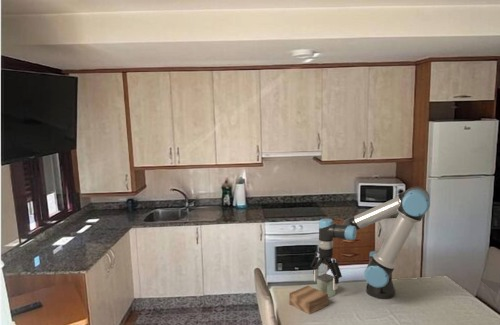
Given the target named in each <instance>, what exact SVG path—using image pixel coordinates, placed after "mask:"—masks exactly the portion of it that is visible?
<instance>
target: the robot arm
mask: <svg viewBox="0 0 500 325" xmlns="http://www.w3.org/2000/svg"><path fill="white" fill-rule="evenodd" d="M430 206H431V200H430V194H429V192H428V191H427V189H425V188H424V187H421V186H411V187H409V188H408V189H407V190H404V191H402V192H400V193H398V194H397V196H396V197H395V198H392V199H389V200H388V201H386V202H383V203H381V204H379V205H377V206H374V207H371V208H369V209H368V210H365V211H363V212H361V213H358V214H355V215H354V216H352V217H348V218H345V219H344V220H343V222H342V223H334V220H333V219H332V218H321V219H320V220H319V222H318V224H319V225H318V252H315V253H314V257H313V259H312V261H311V264H310V268H312V270H313V271H312V272H313V273H312V274H313V282H317V276H319V269H318V268H319V267H320V266H321V265H326V266H327V267H328V268H329V269H330V272H331V274H332V276H334V278H333V290H335V291H336V290H338V287H339V286H338V284H339V279H341V278H342V277H343V275H342V273H341V272H342V271H341V269H340V267H339V264H338V259H337V258H333V253H334V249H333V247H334V239H340V240H347V241H355V240H356V237H357V231H359V230H361V229H363V228H365V227H367V226H370V225H373V224H375V223H377V222H379V221H382V220H384V219H386V218H389V217H392V216H393V215H396V214H398V215H397V216H396V218H395V220H394V222H393V224H392V226H391V228H390V230H389V232H388V234H387V235H386V237H385V239H384V241H383V243H382V245H381V247H380V249H379V250H372V251H370V252H369V254H368V255H369V256H368V257H369V262H368V264H367V266H366V268H365V270H364V278H365V281H366V282H367V284H366V287H365V289H366V290H365V291H366V294H367V295H368V296H369V297H370V296H371V297H373V298H376V299H382V300H388V299H389V300H390V299H392V298H394V297H396V289H395V286H394V282H393V272H394V270H395V268H396V265H395V262H396V259H397V258H398V256H399V254H400V252H401V250H402V248H403V247H404V245H405V243H406V241H407V239H408V238H409V236H410V234H411V232H412V230H413V228H414V227H415V225H416V223H418V222H421V221H422V220H423V218H424V215H425V214H426V213H427V212H428V211H429V209H430Z"/></svg>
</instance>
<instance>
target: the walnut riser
mask: <svg viewBox="0 0 500 325" xmlns="http://www.w3.org/2000/svg"><path fill="white" fill-rule="evenodd" d="M289 305H291V306H293V307H294V308H296V309H298V310H300V311H302V312H303V313H306V314H308V315H310V314H313V313H315V312H317V311H320V310H321V309H323V308H326V307H328V306H329V298H328V294H326V293H324V292H322V291H319V290H317V288H315V287H312V286H309V285H306V286H303V287H300V288H299V289H296V290H293V291H292V292H289Z"/></svg>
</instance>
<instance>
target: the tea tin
mask: <svg viewBox="0 0 500 325" xmlns="http://www.w3.org/2000/svg"><path fill="white" fill-rule="evenodd" d="M333 278H334V276H333V275H331V274H328V273H323V274H320V275H318V276H317V281H316V289H317V290H319V291H322V292H324V293H326V294H328V299H329V298H331V297H334V296H336V289H335V290H333Z"/></svg>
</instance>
